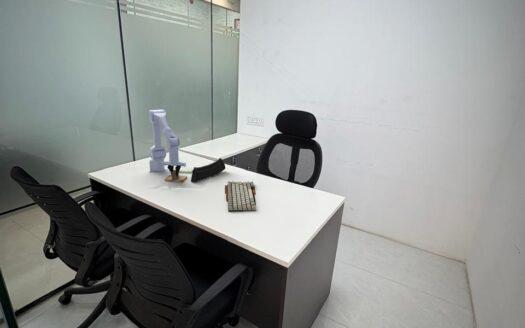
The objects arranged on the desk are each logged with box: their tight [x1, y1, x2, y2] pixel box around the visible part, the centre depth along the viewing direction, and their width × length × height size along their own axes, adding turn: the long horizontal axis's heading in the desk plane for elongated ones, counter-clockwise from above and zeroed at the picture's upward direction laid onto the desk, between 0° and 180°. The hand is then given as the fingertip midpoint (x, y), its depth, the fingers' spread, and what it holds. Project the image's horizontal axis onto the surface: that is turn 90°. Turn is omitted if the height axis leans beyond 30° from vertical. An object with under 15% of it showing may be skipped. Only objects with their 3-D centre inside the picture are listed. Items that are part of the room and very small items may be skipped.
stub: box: [164, 169, 188, 183], centre depth 171 cm, size 12×8×6 cm, turn 87°
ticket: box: [179, 166, 194, 174], centre depth 188 cm, size 12×9×1 cm
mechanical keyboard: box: [224, 180, 257, 213], centre depth 154 cm, size 38×19×3 cm, turn 9°
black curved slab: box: [190, 157, 226, 183], centre depth 179 cm, size 17×3×30 cm
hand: (175, 176), depth 170 cm, fingers closed on stub, 2 cm apart
